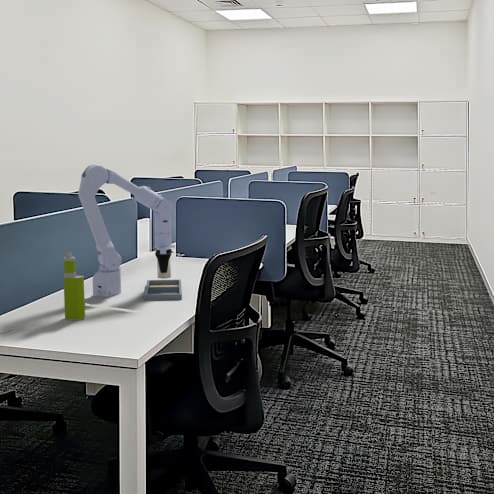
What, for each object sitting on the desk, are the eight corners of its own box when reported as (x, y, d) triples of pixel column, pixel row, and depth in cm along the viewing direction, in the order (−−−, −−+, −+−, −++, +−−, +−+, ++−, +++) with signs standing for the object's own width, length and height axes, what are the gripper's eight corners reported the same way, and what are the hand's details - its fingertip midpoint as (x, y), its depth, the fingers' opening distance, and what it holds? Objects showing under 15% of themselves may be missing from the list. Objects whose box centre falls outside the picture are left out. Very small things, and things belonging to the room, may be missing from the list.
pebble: (166, 278, 236) (165, 261, 235) (155, 277, 238) (154, 260, 237) (173, 276, 240) (173, 259, 239) (162, 275, 242) (162, 258, 241)
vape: (67, 316, 204) (65, 250, 201) (86, 316, 204) (84, 250, 201) (62, 319, 201) (59, 252, 198) (82, 320, 200) (79, 252, 197)
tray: (181, 301, 223) (181, 294, 223) (144, 302, 222) (144, 295, 221) (181, 286, 247) (180, 279, 246) (147, 286, 245) (147, 280, 245)
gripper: (174, 235, 230) (175, 275, 232) (174, 229, 244) (175, 267, 246) (153, 235, 229) (154, 275, 231) (154, 230, 243) (155, 267, 246)
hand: (163, 271), depth 239 cm, fingers closed on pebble, 5 cm apart
